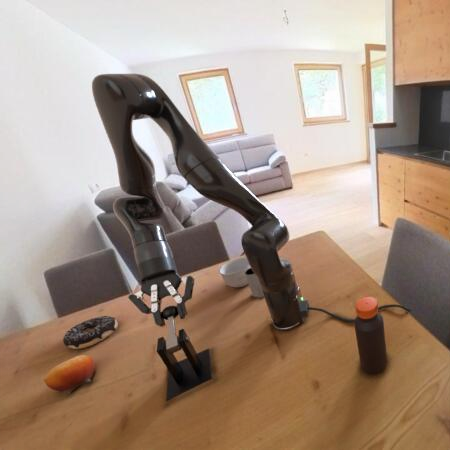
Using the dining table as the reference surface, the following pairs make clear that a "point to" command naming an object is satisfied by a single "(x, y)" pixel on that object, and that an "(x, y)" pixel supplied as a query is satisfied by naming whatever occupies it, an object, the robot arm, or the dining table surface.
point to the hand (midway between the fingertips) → (173, 321)
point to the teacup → (235, 272)
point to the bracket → (184, 366)
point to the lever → (171, 329)
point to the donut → (90, 332)
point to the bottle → (370, 336)
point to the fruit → (70, 374)
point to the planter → (254, 283)
